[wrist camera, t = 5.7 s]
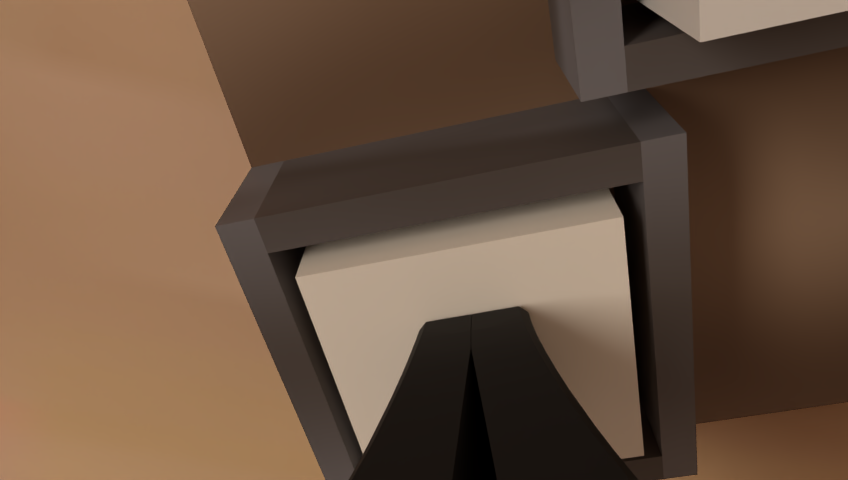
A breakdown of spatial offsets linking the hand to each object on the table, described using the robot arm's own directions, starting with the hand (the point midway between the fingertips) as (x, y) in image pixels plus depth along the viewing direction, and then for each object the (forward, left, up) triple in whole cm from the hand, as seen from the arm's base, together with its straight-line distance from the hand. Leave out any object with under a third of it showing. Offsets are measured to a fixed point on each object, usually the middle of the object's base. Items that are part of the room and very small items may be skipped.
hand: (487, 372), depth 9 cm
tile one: (0, 0, -2) cm, 2 cm away
